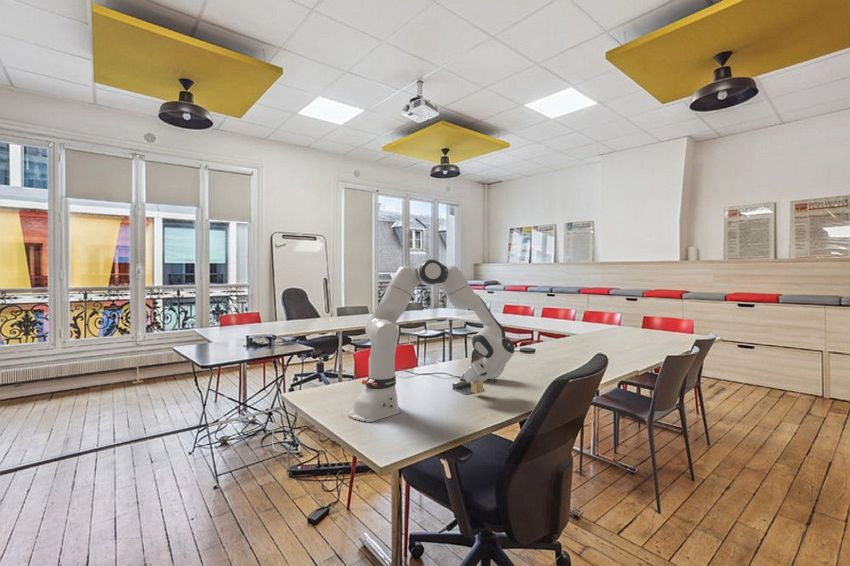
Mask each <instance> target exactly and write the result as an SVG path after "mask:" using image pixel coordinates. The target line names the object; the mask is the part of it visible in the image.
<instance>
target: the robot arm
mask: <svg viewBox="0 0 850 566" xmlns="http://www.w3.org/2000/svg"><path fill="white" fill-rule="evenodd" d="M435 285H439V286H441V287H442V289H443V291H444V293H445V295H446V297H447V299H448V301H449V302H450V303H451V305H452V306H453V307H455V308H457V309H461V310H467V309H468V310H471V311H473V312H474V314H476V316H477V318H478V319H479V321H480V322H481V324H482V325H483V328H482V329H481V330H479V331H478V332H477V333H476V334H475V335H473V336H472V338H471V344H472V348H473V350H474V349H475V350H476V351H477V352H478V353H479V354H480V355H482V356H483V358H482V359H480V360H477V361H475V362H473V363H472V364H471V366H470V367H468V368H467V370H466V371H465V373H464V374H463V378H464V381H466V382H470V383H471V384H475V383H476V382H475V381H478V380H483V383H484V382H485V381H487V380H488V379H494V377H495V378H499V376H501V375H502V373H504V370H505V367H506V366H507V365H506V364H507V363H508V362H509V361H510V360H511V358H512V357H513V356H514V354H515V351H516V350H515V344H514V343H513V341H512V340H510V339H509V338H507V337H506V330H505V328H504V326H502V324H501V323H500V322H499V321H498V320H497V319H496V318H495V317H494V315H493V313H492V312H491V310H490V309H489V307H488V306H487V304H486V303H485V302H484V300H483V299H482V297H480V295H478V294H477V293H476V292H474V290H473V288H472V287H471V285H470V284H469V281H468V280H467V278H466V276H465V275H464V274H463V272H462V271H461V270H460V268H459V267H458V266H456V265H450V266H445V265H444V264H443V263H442V262H440V261H438V260H436V259H431V258H430V259H426V260H425V261H422V262H421V263H419V264H418V265H417V266H416V267H412V266H408V265H402V266H400V267H398V269H397V270H396V271H395V273H394V274H393V276H392V278H391V280H390V281H389V284H388V286H387V288H386V290H385V292H384V294H383V296H382V298H381V300H380V302H379V304H378V305H377V307H376V309H375V310H374V311H373V313H372V315H371V317H369V319H368V321H367V322H366V324H365V326H364V327H365V329H364V331H365V335H366V336H367V338H368V339H369V340H370V352H369V356H368V377H367V379H361V384H362V385H365V387H364V389H363V390H362V391H361V392H360V393H359V395H358V396H357V397H355V400H354V403H353V409H352V410H350V411H349V412H348V413H347V416H348V417H349V416H350V417H351V419H353V420H355V419H356V420H355V421H359V420H360V421H361V422H364V421H366V423H372V422H376V421H379V420H382V419H385V418H388V417H391V416H395V415H398V414H400V413H401V410H400V406H399V400H398V393H397V388H396V384H397V378H396V377H397V376H396V371H395V370H396V369H395V367H396V366H395V360H396V359H395V358H396V356H395V355H396V351H397V345H398V344H397V343H398V340H399V337H400V333H399V329H398V327H397V325H396V323H397V322H398V320H399V319H400V318H401V316H402V315H404V313H405V312H406V309H407V307H408V305H409V303H410V301H411V299H412V296H413V294H414V292H415V290H416V289H417V287H418V286H424V287H428V286H435ZM350 417H349V418H350Z"/></svg>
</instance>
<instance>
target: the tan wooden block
mask: <svg viewBox="0 0 850 566" xmlns="http://www.w3.org/2000/svg"><path fill="white" fill-rule="evenodd" d="M475 382H476V383H475V384H471V392H474V393H475V394H477V395H478V394H481V393H482V394H483V393H484V391H483V388H484V382H483V380H478V381H475ZM474 393H473V394H474Z"/></svg>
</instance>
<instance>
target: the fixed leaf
mask: <svg viewBox="0 0 850 566" xmlns="http://www.w3.org/2000/svg"><path fill="white" fill-rule="evenodd" d="M454 390H455V392H457V393H459V392H460V394H462V395H464V394H465V396H466V394H467V395H470V394H474V392H471V383H470V382H466V380H463V381H458V382H453V383H452V391H454ZM483 392H485V387H483Z"/></svg>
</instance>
